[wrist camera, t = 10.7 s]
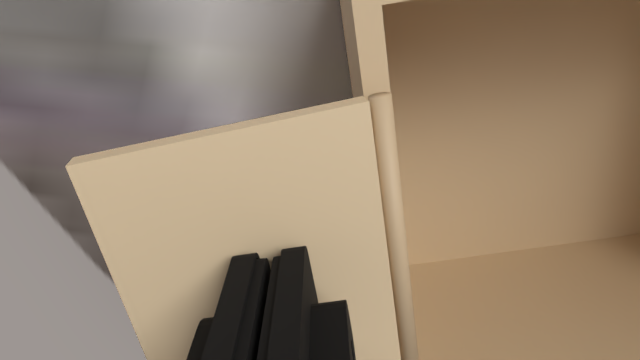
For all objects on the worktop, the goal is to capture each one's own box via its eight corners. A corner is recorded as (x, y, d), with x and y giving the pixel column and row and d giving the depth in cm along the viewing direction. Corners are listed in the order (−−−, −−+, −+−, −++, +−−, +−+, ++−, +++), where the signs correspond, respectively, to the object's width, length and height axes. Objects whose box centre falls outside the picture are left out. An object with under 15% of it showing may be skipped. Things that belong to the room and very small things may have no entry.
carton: (672, 241, 21) (856, 383, 14) (377, 281, 22) (406, 434, 15) (731, -97, 16) (1085, -152, 8) (335, -26, 17) (348, -21, 9)
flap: (394, 95, 10) (65, 166, 9) (424, 389, 13) (188, 457, 12) (387, 90, 10) (73, 157, 9) (417, 375, 13) (189, 440, 13)
